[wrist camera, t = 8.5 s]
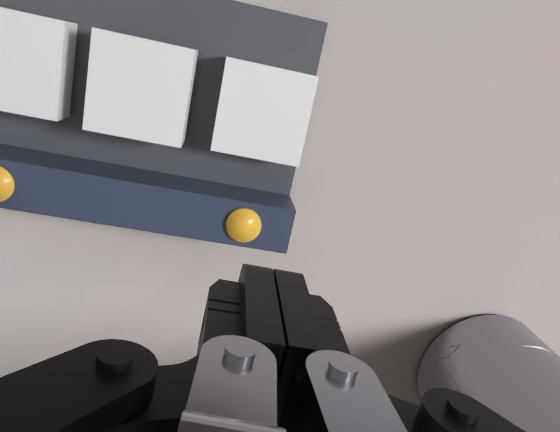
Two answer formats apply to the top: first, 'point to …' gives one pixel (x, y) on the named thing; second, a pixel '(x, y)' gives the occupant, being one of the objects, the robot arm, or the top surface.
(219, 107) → the inner key
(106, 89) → the middle key
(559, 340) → the top surface
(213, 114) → the keypad
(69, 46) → the outer key
